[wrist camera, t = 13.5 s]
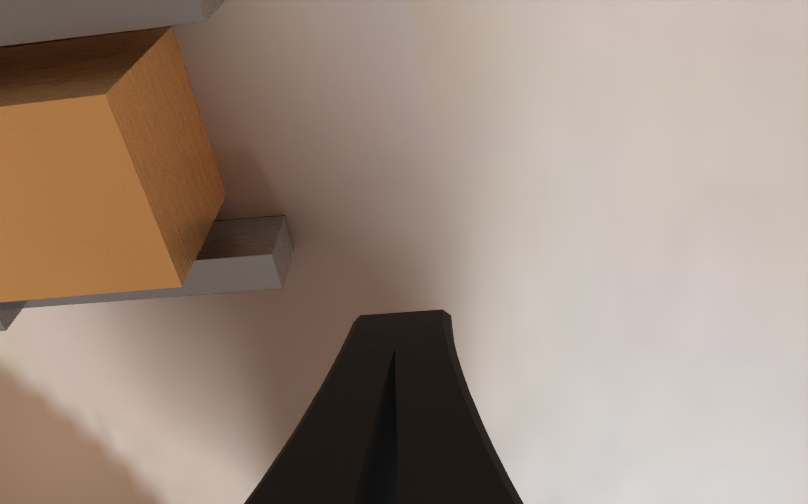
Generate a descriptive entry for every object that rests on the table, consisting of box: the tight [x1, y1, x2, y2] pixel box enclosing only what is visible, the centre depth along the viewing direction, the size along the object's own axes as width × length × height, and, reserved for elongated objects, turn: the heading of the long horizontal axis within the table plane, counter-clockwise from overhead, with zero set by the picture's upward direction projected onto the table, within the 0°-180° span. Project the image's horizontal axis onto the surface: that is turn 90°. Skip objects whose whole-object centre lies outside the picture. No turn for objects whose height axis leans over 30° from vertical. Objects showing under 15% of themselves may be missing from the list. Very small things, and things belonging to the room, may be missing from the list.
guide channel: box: [0, 0, 294, 331], centre depth 18 cm, size 10×9×3 cm
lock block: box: [0, 27, 226, 302], centre depth 18 cm, size 6×5×4 cm
